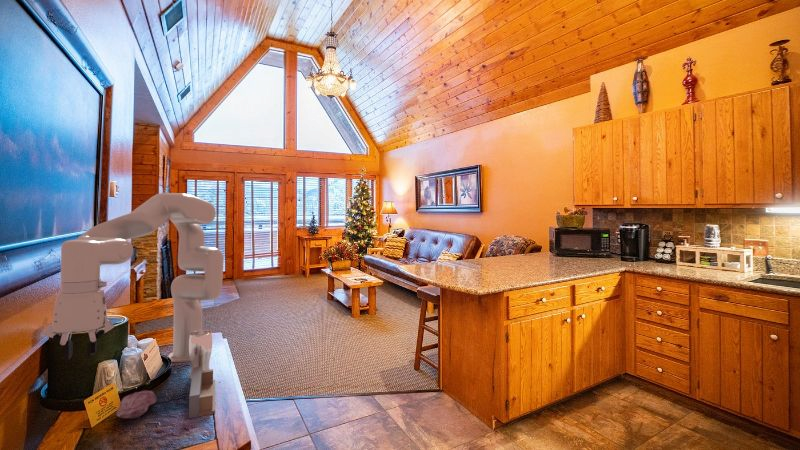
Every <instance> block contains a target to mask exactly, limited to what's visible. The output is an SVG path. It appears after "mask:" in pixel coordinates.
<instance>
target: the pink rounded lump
mask: <svg viewBox="0 0 800 450" xmlns="http://www.w3.org/2000/svg"><path fill="white" fill-rule="evenodd" d="M157 399H158V398H157V396H156V394H155V392H154V391H153V390H147V389H146V390H141V391H137V392H136V391H135V392H133V393H131V394H128V395H126V396H124V397H122V399H121V401H120V403H119V407H118V409H117V410H116V417H118V418H121V419H138V418H140V417H141V416H142V415H144V414H145V413H146V412H147V411H148V409H149V406H152V405H154V404H155V403H157Z"/></svg>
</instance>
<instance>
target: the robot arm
mask: <svg viewBox="0 0 800 450" xmlns="http://www.w3.org/2000/svg"><path fill="white" fill-rule="evenodd" d="M216 213H217V212H216V208H215V206H214V205H213V204H212V203H211V202H209V201H207V200H205V199H202V198H199V197H197V196H195V195H192V194H189V193H179V192H177V193H176V192H161V193H160V192H159V193H156V194H155V195H153V196H151V197H150V198H149V199H147V200H146V201H144V202H143V203H142V204H140V205H139V206H137V207H136V208H135V209H134V210H132V211H131V212H129V213H127V214H123V215H120V216H118V217H116V218H112V219H110V220H107V221H104V222H101V223H99V224H96V225H95V226H93V227H92V228H91V227H90V228H89V229H88V230H87V231H85V232H83V233H82V234H81V235H80V236H78V237H77V238H76V239H68V240H66V241H64V242H63V243H62V244H61V250H60V251H61V253H60V263H61V264H60V293H59V292H58V293H57V295H56V299H55V301H54V308H53V312H52V321H51V323H50V324H49V326H48V327H47V328H46V330H44V332H43V335H44V336H46V337H49V338H52V339H53V340H54V341H56V342H58V343H59V344H60V345H61V346H62V347H61V351H62V352H61V357H64V361H68V360H70V359H71V358H72V357H73V355H74V354H73V352H74V351H73V349H74V342H73V341H72V340H71V338H72V333H78V332H88V336H89V339H88V340H89V341H88V342H87V347H86V348H87V352H86V353H87V358H89V359H90V358H92V357H93V356H94V354H95V353H97V351H98V339H100V338H101V337H102V336H103V335H104V334H105V333H108V332H109V331H110V330H112V329H114V327H115V325H114V324H113V322H112V321H111V320H110V319H109V317H108V310H107V308H108V307H107V298H106V294H105V291H104V289H101V288H104V287H105V288H106V287H107V285H108V282H107V281H103V280H101V266H103V265H104V266H105V265H113V266H114V265H121V264H123V263H126V262H127V261H129V260H130V259H131V258H132V256H133V255H134V246H133V244H132V243H131V242H130V241H129V240H131V239H137V238H141V237H142V238H143V237H145V236H148V235H151V234H153V233H154V232H155V231H156V230H157V229H159V228H160V227H161V226H163V224H164V223H165V222H168V220H169V221H170V222H171V223H172V224H173V225H174V226H175V228H176V229H177V232H178V248H177V249H178V250H177V251H178V252H177V265H178V268H179V269H180V270H182V271H186V272H204V274H189V273H188V274H181V275H179V276H176V277H175V278H174V279H173V280H172V282H171V285H170V293H171V297H172V298H171V299H172V304H173V326H172V327H173V329H172V330H173V333H172V334H173V335H172V336H173V338H172V340H173V341H172V342H173V343H172V352H170V353H169V354H168V356H167V358H168V357H169V358H170V359H171V361H170V362H172V363H186V362H187V363H188V362H191V360H190V355H189V338H190V333H191V332H193V331H197V330H203V307H202V304H201V302H200V301H215V300H216V299H218V298H219V296H220V295H221V294H222V288H223V277H224V261H225V260H224V255H223V253H222V251H221V250H220V248H217V247H214V246H205V231H204V229H203V227H202V226H201V225H208V224H210V223H212V222H213V221H214V220H215V218H216V215H217V214H216ZM103 326H104V327H103Z"/></svg>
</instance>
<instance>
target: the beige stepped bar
mask: <svg viewBox="0 0 800 450" xmlns="http://www.w3.org/2000/svg"><path fill="white" fill-rule="evenodd" d="M188 397H189V399H188V400H189V401H188V419H193V418H197V417H202V416H207V415H211V414H215V413H216V379H214V369H213V368H212V369H210V370H204V371H202V366H201V367H194V368H193V375H192V380H191V382H190V389H189V395H188Z"/></svg>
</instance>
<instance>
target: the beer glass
mask: <svg viewBox="0 0 800 450" xmlns="http://www.w3.org/2000/svg"><path fill="white" fill-rule="evenodd" d="M212 331H213V330H212V329H211V330H210V329H202V330H197V331H193V332H191V333H190V338H189V355H190V360H191V361H190V364H191V366H190V367H191V368H190V375H189V379H190V380H191V381H192V375H193V368H194V367H201V366H202V371H204V370H211V369H210V362H211V361H210V360H211V356H212V351H213V332H212Z"/></svg>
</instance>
